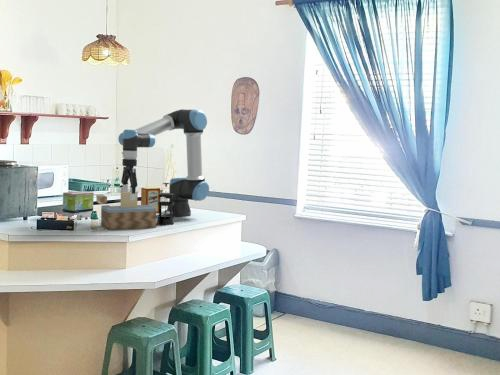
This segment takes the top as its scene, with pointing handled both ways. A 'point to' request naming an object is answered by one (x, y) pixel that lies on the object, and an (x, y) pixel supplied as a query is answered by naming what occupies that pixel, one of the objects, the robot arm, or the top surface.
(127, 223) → the brown woven basket
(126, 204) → the lid
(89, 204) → the tea box
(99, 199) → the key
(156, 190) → the baking soda box
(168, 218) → the french press
